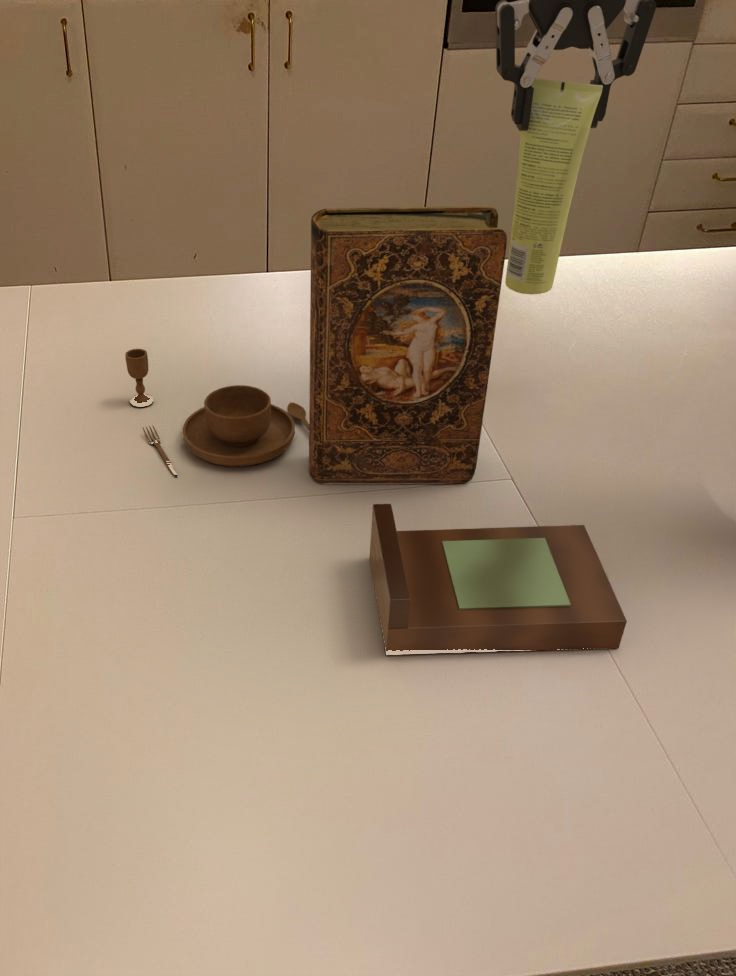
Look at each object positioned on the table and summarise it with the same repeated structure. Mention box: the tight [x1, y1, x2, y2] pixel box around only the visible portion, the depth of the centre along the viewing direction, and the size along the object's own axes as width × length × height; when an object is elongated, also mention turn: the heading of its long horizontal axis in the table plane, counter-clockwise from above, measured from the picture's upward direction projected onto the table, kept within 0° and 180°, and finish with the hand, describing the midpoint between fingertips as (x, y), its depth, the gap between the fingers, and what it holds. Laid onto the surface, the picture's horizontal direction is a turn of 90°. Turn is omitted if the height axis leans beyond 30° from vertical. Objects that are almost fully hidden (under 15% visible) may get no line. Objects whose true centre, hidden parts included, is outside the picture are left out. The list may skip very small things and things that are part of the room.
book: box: [308, 205, 508, 485], centre depth 92 cm, size 16×6×25 cm, turn 88°
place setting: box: [124, 348, 309, 467], centre depth 106 cm, size 18×20×6 cm
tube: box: [504, 77, 603, 295], centre depth 98 cm, size 6×5×20 cm
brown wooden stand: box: [369, 503, 628, 651], centre depth 83 cm, size 19×13×6 cm
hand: (556, 126), depth 94 cm, fingers closed on tube, 6 cm apart
